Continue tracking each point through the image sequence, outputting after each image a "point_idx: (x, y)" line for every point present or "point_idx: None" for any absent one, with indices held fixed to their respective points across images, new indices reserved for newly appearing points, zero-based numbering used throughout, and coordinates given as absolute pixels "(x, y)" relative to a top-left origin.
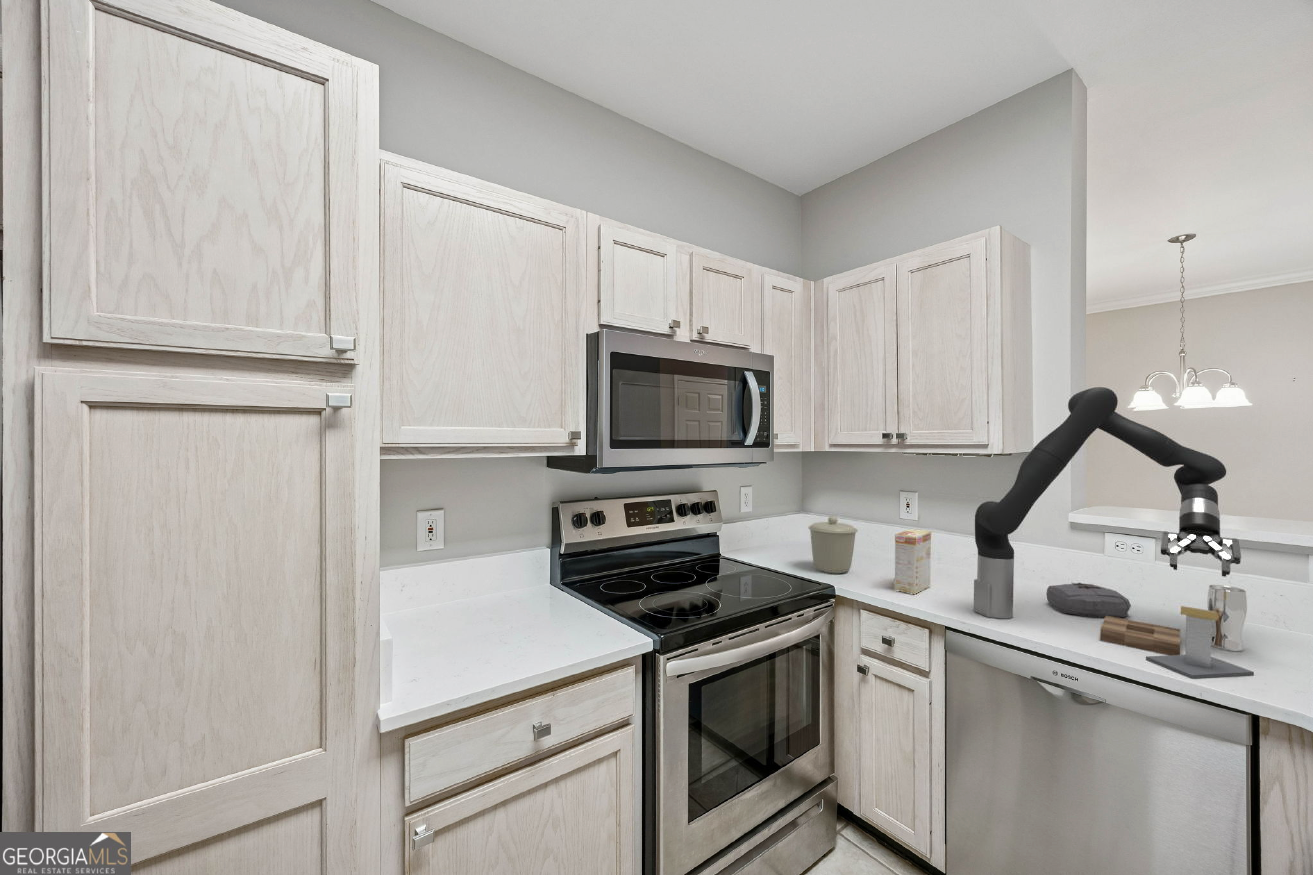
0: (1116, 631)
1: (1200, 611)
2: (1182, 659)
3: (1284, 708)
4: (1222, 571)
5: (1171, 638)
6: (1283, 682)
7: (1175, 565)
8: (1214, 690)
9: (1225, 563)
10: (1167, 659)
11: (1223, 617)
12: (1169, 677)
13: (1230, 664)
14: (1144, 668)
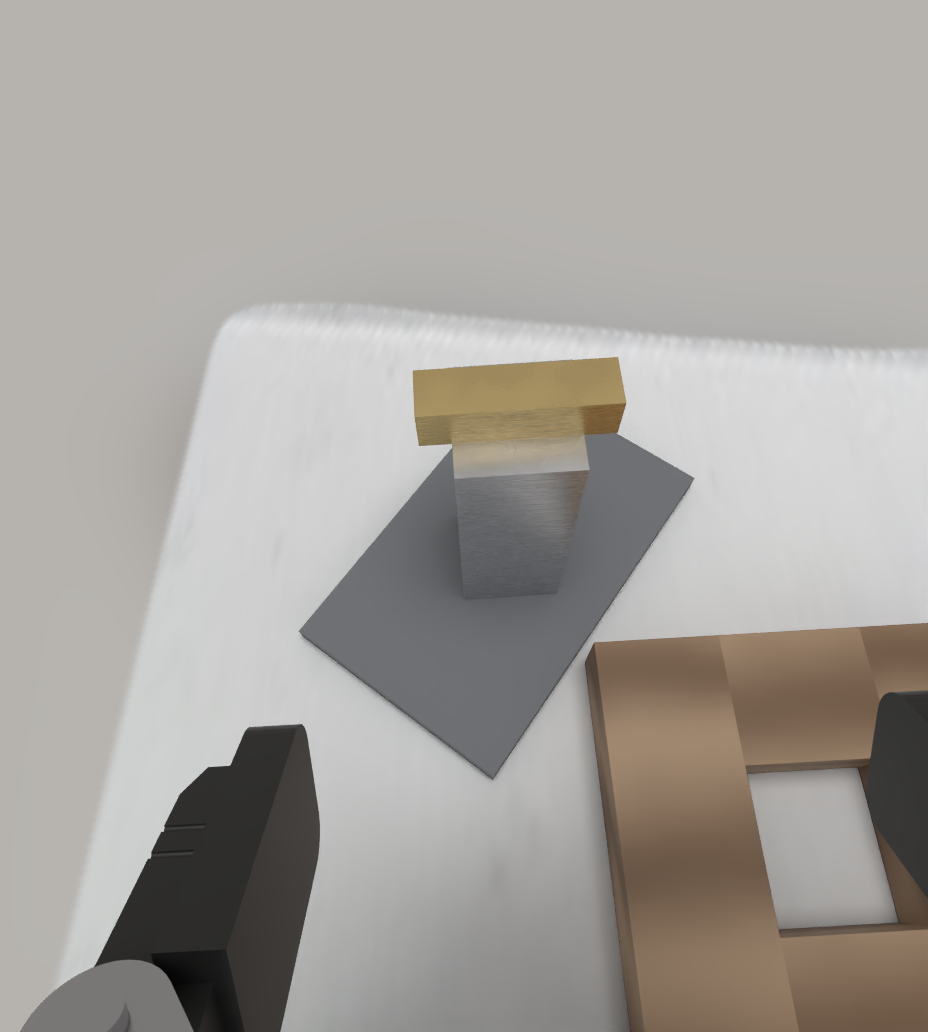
0: (906, 640)
1: (506, 369)
2: (566, 567)
3: (262, 317)
4: (299, 727)
5: (652, 758)
6: (203, 634)
7: (909, 697)
8: (443, 320)
9: (204, 849)
10: (616, 510)
11: None
12: (578, 337)
13: (382, 674)
14: (666, 368)
